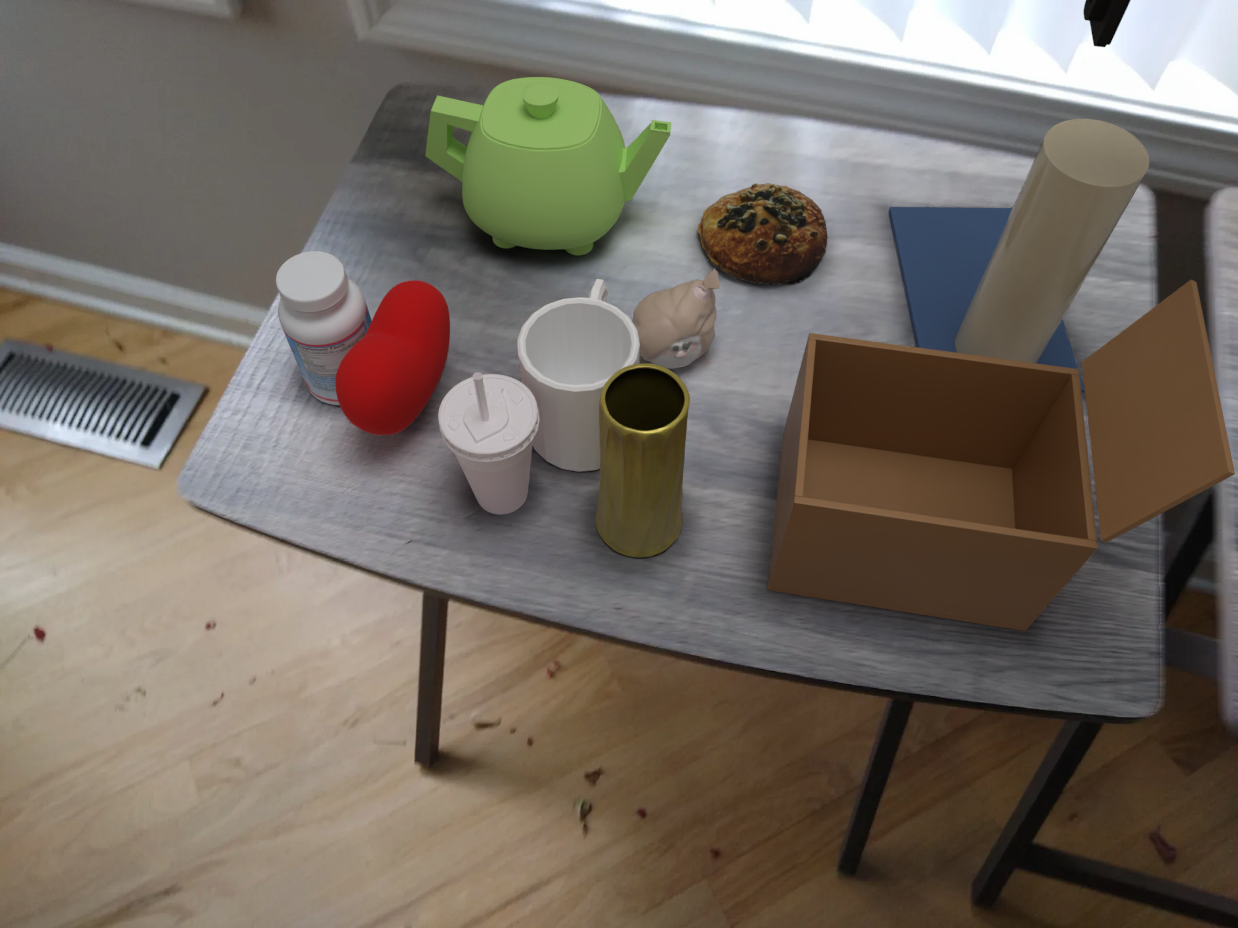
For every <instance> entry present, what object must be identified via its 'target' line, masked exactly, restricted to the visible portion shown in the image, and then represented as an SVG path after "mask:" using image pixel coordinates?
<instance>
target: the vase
mask: <svg viewBox="0 0 1238 928" xmlns="http://www.w3.org/2000/svg"><path fill="white" fill-rule="evenodd" d="M690 402H691V397H690V392H689V389H688V388H687V386H686V384H685V382H684V381H683V379H682V378H681V377H680V376H678V374H676V373H675V372H673V371H672V370H670V368H665V367H663V366H659V365H656V364H654V363H650V362H648V363H646V362H645V363H639V364H635V365H629V366H626V367H624V368H622V369H620V370H618V371H617V372H615V373H614V374H613V375H612V376H611V377H610V378H609V379H608V381H607V382H606V383H605V385H604V387H603V390H602V392H601V396H600V401H599V426H600V469H599V472H600V473H599V486H598V496H597V507H596V511H595V517H594V518H595V519H594V521H595V527H596V530H597V532H598V534H599V537H600V538H601V540H602V541H603V542H604V543H605V544H606V545H607V546H608V547H610V548H611V549H612V550H614V552H616V553H619V554H621V555H623V556H627V557H630V558H648V557H653V556H655V555H659V554H662V553H663V552H664V551H666V550H667V549H668V548H669V547H670V546H672V545H673V544H674V543H675V541H677V540H678V538H679V536H680V534H681V532H682V528H683V523H684V515H683V514H684V513H683V509H682V508H683V507H682V506H683V495H684V494H683V493H684V492H683V491H684V490H683V487H684V486H683V484H684V483H683V482H684V470H685V469H684V468H685V458H686V457H685V456H686V454H685V453H686V441H687V430H688V417H689V410H690V409H689V408H690Z"/></svg>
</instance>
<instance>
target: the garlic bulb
mask: <svg viewBox="0 0 1238 928" xmlns="http://www.w3.org/2000/svg"><path fill="white" fill-rule="evenodd" d="M718 289H720V281H719V272H718V270H716V268H713V269H712V270H711V271H709V273H707V275H706V276H705V277H704V278H703V279H700V278H699V279H693V280H690V281H685V282H683V283H679V284H676V285H675V286H674V287H670V288H664V289H660V290H656V291H653V292H651V293H649V294H647V295H646V296H645V297H643V299H642V300H641V301H639V303H638V304H637V305H636V306H635V308H634V310H633V315H632V319H631V321H632V322H633V324H634V326H635V327H636V329H637V331H638V337H639V343H640V355H639V356H640V357H641V358H642V359H643V360H645V361H646V362H647V361H648V362H649V363H651V364H655V365H659V366H663V367H665V368H667V369H679V368H683V367H686V366H688V365H690V364H692V363H693V362H695V361H696V359H698V358H700V357H701V356H703V355H705V353H706V352H707V351H708V349H709V348H710V347H711V345H712V343H713V340H714V338H715V335H716V330H715V323H716V320H717V307H716V294H715V291H714V290H718Z"/></svg>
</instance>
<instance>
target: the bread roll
mask: <svg viewBox="0 0 1238 928" xmlns="http://www.w3.org/2000/svg"><path fill="white" fill-rule="evenodd" d="M697 233H698V235H699V238H700V243H701V247H702V250H704V252H705V253H706V255H707V257H708V258H709V260H710V261H711V262H712V263H713V264H714V265H715V266H716V267H717V268H718V269H719V270H720V271H722V272H723V273H726V274H727V275H729V276H731V277H733V278H734V279H737V280H741V281H742V280H743V281H746V282H751V283H754V284H763V285H767V284H768V285H786V286H787V285H795V284H796V283H797V284H799V283H801V282H803V281H804V280H806V278H809V277H810V276H811V275H812V274H813V272H815V270H816V269H817V267H818V266H819V265H820V263H821V262H822V260H823V258H824V256H825V254H826V252H827V246H828V229H827V222H826V219H825V216H824V213H823V211H822V209H821V208H820V207H819V205H818V204H817V203H816V202H815V201H814V200H813V199H812V198H810V197H809V196H807V195H806V194H804V193H802V192H801V190H797V189H794V188H791V187H789V186H787V185H778V184H776V183H770V182H765V183H753V184H751V186H748V187H747V188H746V187H745V188H743V189H740V190H738V191H735V192H732V193H727V194H725V195H722V196H721V197H720V198H719V199H718V200H717V201H715V202H714V203H712V204H710V205H709V206H708V207H706V208H705V209H704V211H703V212H702V217H701V218H700V223H699V224H697Z"/></svg>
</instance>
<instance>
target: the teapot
mask: <svg viewBox="0 0 1238 928" xmlns="http://www.w3.org/2000/svg"><path fill="white" fill-rule="evenodd" d="M454 128H457V129H462V130H465V131H468V132H471V133H470V135H469V137H468V138H469V139H468V142H467V145H465V144H463V143H462V142H461V141H459V140H458V139H456V138H455V137H454ZM671 131H672V122H671V121H666V120H665V121H663V120H656V119H651V121H650V123H649V124H648V125H647V126H646V127H645V128H644V129H643V130H642V132H641V133H639V134H638V136H637V137H635V139H633V141H632V142H631V143H630V144H629V145H628V146H627V147H626V143H625V139H624V137H623V134H622V131H621V129H620V127H619V125H618V123H617V120H616V119H615V117H614V116H613V113H612V112H611V110H610V109H609V106H608V105H607V103H606V102H605V101H604V100H603V98H602V96H601V95H600V94H599V93H598V92H597V91H596V90H595V89H594V88H591V87H590V86H587V85H585V84H583V83H580V82H576V81H573V80H568V79H564V78H559V77H557V78H556V77H549V76H531V77H530V76H529V77H519V78H513V79H509V80H505V81H503V82H501V83H499V84H498V85H496V86H495V87H494V88H492V90H491V91H490V92H489V94H488V96H487V98H486V99H485V102H484V104H478V103H474V102H469V101H464V100H459V99H456V98H451V97H447V96H441V95H438V94H437V95H436V98H435V99H434V102H433V105H432V107H431V109H430V114H429V122H428V130H427V138H426V144H425V145H426V147H425V155H424V156H425V158H427V159H428V160H430V161H431V162H433V163H434V164H435V165H437V166H439V167H440V168H441V169H443V170H444V171H446V172H447V173H449V174H450V175H452V176H453V177H454V178H456V179H457V180H458V181H460V182H461V191H462V192H461V197H462V204H463V208H464V210H465V212H466V214H467V216H468V218H469V219H470V220H471V221H472V222H473V224H474V225H475V226H477V227H478V228H479V229H481V230H482V231H483V232H484V233H486V234H487V235H489V236H491V237H492V242H493V244H494V245H495V246H497V247H499V248H502V249H512V248H515V247H522V248H526V249H533V250H545V251H547V250H551V251H553V250H565V251H566V252H567V253H568V254H570V255H573V256H583V255H587V254H589V253H590V252H591V251H592V250H593V249H594V242H596V241H598V240H600V239H601V238H602V237H603V236H604V235H606V234H607V233H608V232H610V230H611V229H612V228H613V226H614V225H615V224H616V223H617V222H618V220H619V218H620V217H621V214H622V211H623V209H624V206H625V203H626V202H630V201H632V200H633V198H634V196H635V195H636V193H637V192H638V190H639V188H640V187H641V185H642V183H643V182H644V180H645V178H646V177H647V175H648V173H649V171H650V170H651V168H652V166H653V165H654V163H655V161H656V160H657V158H658V156H659V155H660V154H661V152H662V150H663V149H664V147H665V144H666V143H667V142H668V140H669V138H670V136H671V133H672V132H671Z"/></svg>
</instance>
